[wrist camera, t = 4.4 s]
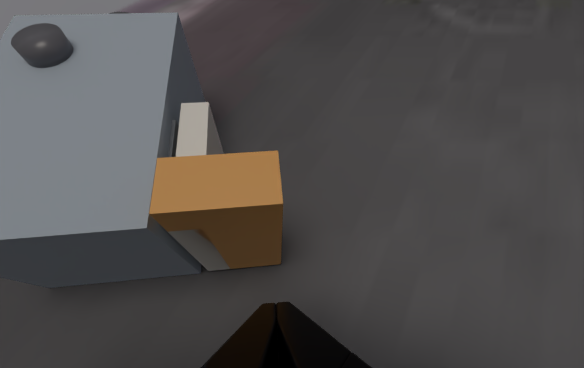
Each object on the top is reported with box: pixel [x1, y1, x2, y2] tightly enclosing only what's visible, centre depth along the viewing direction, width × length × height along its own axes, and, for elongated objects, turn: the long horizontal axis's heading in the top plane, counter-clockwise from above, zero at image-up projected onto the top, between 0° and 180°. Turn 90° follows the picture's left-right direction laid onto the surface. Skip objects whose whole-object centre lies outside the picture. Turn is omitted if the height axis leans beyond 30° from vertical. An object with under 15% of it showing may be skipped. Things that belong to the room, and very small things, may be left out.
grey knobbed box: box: [0, 12, 205, 288], centre depth 15 cm, size 14×8×8 cm, turn 6°
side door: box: [149, 102, 283, 271], centre depth 14 cm, size 6×4×8 cm, turn 6°
